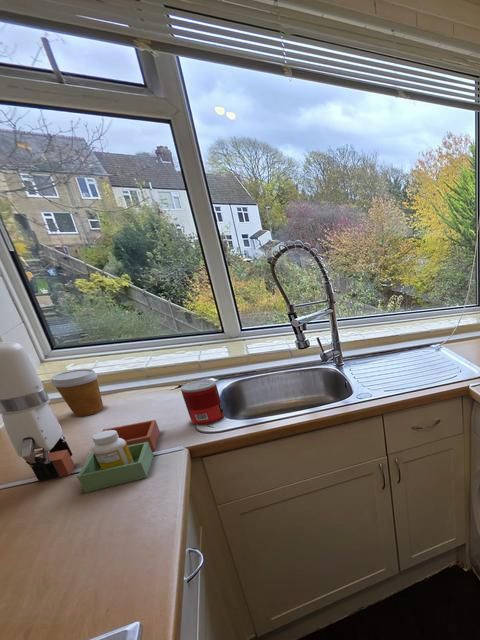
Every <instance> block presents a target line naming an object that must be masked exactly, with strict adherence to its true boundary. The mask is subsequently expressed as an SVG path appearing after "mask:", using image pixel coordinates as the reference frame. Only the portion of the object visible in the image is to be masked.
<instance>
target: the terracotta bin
mask: <svg viewBox="0 0 480 640" xmlns="http://www.w3.org/2000/svg"><path fill="white" fill-rule="evenodd" d="M108 430H115V431H117V434H118V436H119V437H118V438H122V439H124V440H125V442H126V444H127V446H129V445H134V444H139V443H144V442H148V443H149V446H150V448H151V451H152V452H155V451H156V448H157V445H158V441H159V439H160V436H161V430H160V428H159V425H158V423H157V420H156V419H152V420H146V421H141V422H135V423H129V424H125V425H120V426H114V427H109V428H103V430H102V431H101V432H103V431H108ZM94 445H96V444H95V443H94Z"/></svg>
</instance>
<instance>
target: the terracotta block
mask: <svg viewBox="0 0 480 640" xmlns="http://www.w3.org/2000/svg"><path fill="white" fill-rule="evenodd" d="M38 456H39V457H41V458H43V455H42V454H38ZM49 460H50V461H53V463H54V465H55V467H56V469H57V471H58V472H59V474H60V475H59V477H57V478H56V479H59V478H64V477H68V476H70V475H71V474H72V471H73V470H74V468H75V467H76V464H75V463H74V460H73V458H72V456H70V454H69V452H68V450H62V451H57V452H52V453H50V452H49ZM54 479H55V478H53V479H52V480H54ZM50 480H51V479H49V480H48V481H50ZM45 481H46V480H44V481H43V482H45Z"/></svg>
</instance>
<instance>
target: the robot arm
mask: <svg viewBox="0 0 480 640" xmlns="http://www.w3.org/2000/svg"><path fill="white" fill-rule="evenodd" d="M50 402H51V399H50V397H49V395H48V393H47V391H46V389H45V387H44V384H43V383H42V381H41V378H40V377H39V374H38V372H37V370H36V368H35V367H34V364H33V363H32V360H31V358H30V356H29V354H28V352H27V350H26V348H25V347H24V346H23V345H22V344H21V343H19V342H16V341H0V415H1V419H2V422H3V426H4V428H5V431H6V433H7V436H8V438H9V440H10V442H11V444H12V447H13V449H14V451H15V452H16V454H17V456H18V457H20V458H22V459H23V460H24V461H25V463H26V464H27V465H28V466H29V468H31V470H32V472H33V474H34V475H35V477H36V479H37V481H38V482H45V481H50V480H54V479H58V478H57V477H59V475H60V474H59V472H58V471H57V469H56V467H55V465H54V463H53V461H50V460H49V453H52V452H57V451H62V450H68V452H69V454H70V456H71V457H72V456H73V452H72V450H71V448H70V446H69V444H68V442H67V440H66V437H65V435H64V434H63V428H62V427H61V424H60V422H59V420H58V418H57V416H56V414H55V413H54V411H53V409H52V407H51V406H50V404H49V403H50ZM39 455H43V458H41V457H39ZM53 478H54V479H53ZM59 478H60V477H59ZM49 479H50V480H49ZM44 480H45V481H44Z"/></svg>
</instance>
